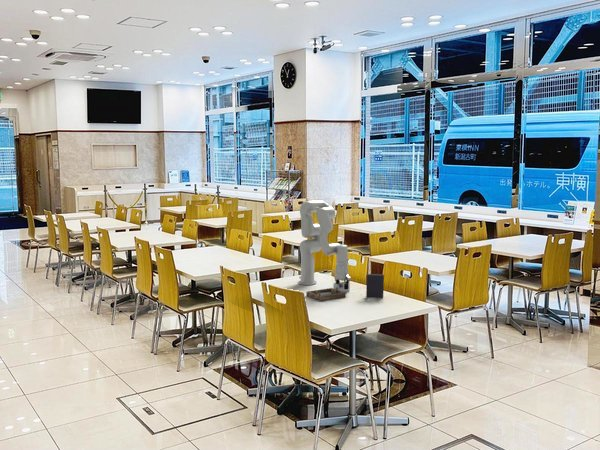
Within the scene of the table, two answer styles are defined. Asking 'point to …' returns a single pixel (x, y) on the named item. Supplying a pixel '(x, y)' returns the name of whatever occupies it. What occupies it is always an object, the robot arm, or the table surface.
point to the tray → (325, 294)
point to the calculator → (375, 285)
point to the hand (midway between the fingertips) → (341, 287)
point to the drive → (341, 287)
